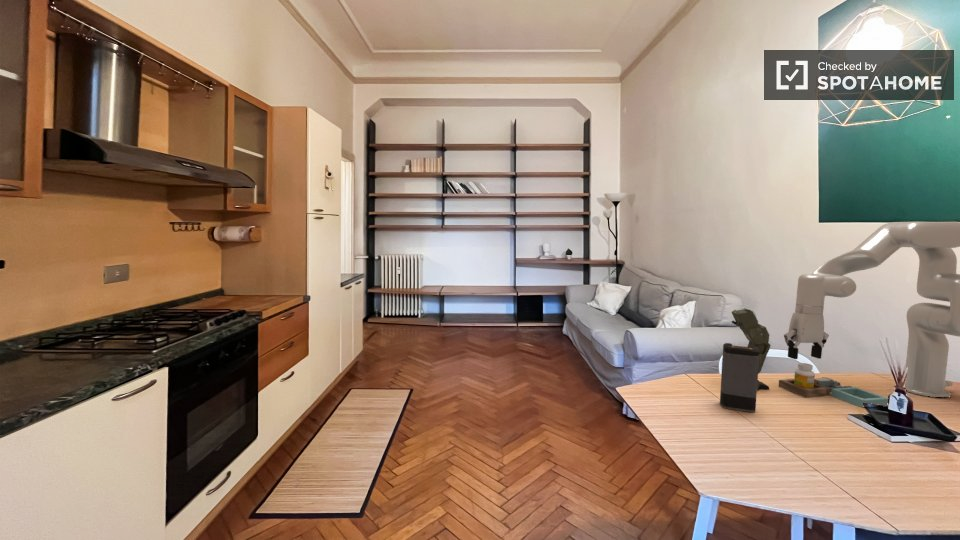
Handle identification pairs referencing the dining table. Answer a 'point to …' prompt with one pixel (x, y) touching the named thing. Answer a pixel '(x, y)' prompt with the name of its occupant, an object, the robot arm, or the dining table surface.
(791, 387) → the socket block
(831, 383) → the grey stepped block
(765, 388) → the mechanical leg
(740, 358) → the electronic device
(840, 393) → the green square tray
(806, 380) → the supplement bottle
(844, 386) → the guide
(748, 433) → the dining table surface
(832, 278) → the robot arm
